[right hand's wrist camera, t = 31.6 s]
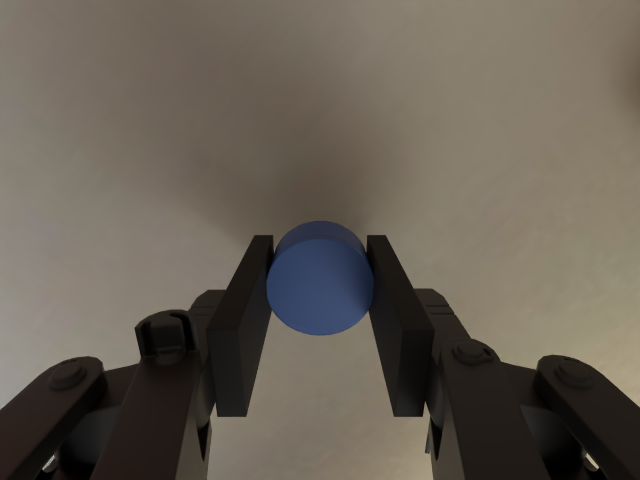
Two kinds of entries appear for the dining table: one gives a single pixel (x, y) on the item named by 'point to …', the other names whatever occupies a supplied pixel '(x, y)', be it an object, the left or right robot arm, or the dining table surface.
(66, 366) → the right robot arm
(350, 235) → the cap
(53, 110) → the dining table surface
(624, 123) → the dining table surface
